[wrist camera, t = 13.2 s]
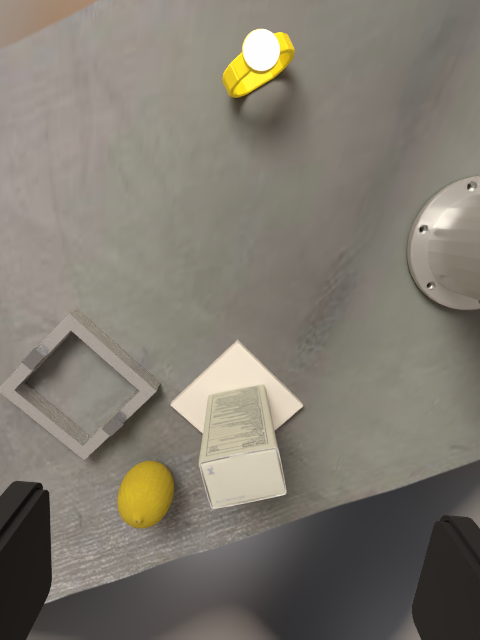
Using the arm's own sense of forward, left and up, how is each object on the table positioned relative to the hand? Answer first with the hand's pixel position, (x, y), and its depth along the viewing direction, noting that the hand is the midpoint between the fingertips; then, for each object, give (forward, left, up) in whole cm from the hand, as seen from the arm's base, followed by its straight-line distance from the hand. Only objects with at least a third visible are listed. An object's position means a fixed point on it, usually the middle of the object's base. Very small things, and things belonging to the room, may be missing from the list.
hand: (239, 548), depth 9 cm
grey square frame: (+18, -5, -30) cm, 36 cm away
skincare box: (+8, +8, -30) cm, 32 cm away
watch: (-15, -13, -31) cm, 36 cm away
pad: (+8, +8, -30) cm, 32 cm away
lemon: (+20, +7, -31) cm, 37 cm away
